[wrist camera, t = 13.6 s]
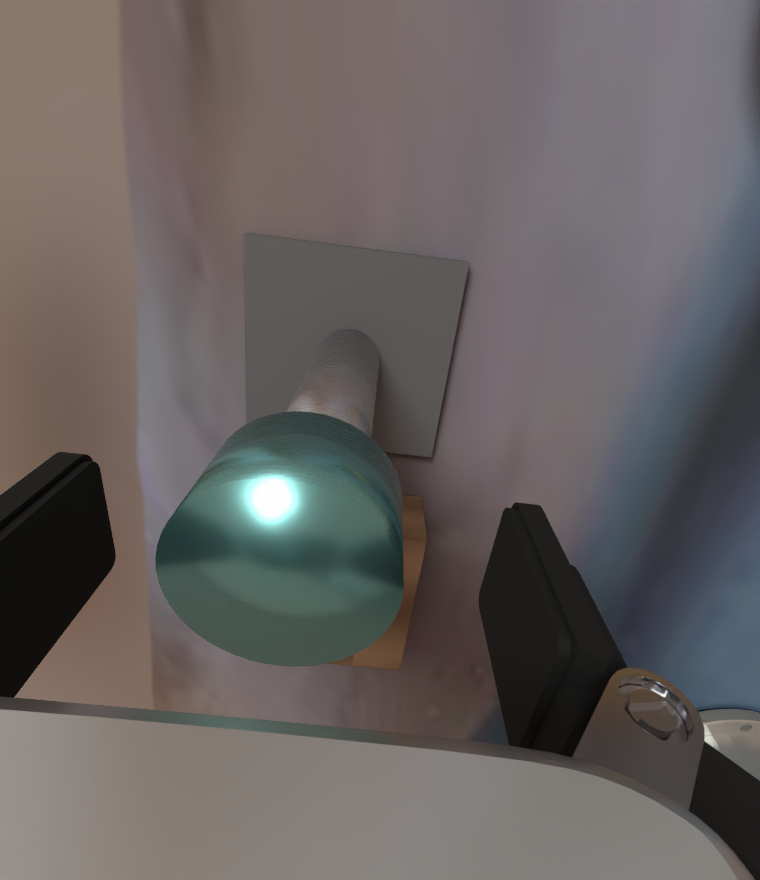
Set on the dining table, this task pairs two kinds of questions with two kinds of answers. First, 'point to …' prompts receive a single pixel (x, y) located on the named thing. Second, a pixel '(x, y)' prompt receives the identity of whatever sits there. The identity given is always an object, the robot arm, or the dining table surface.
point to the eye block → (393, 640)
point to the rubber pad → (352, 327)
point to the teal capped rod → (294, 525)
